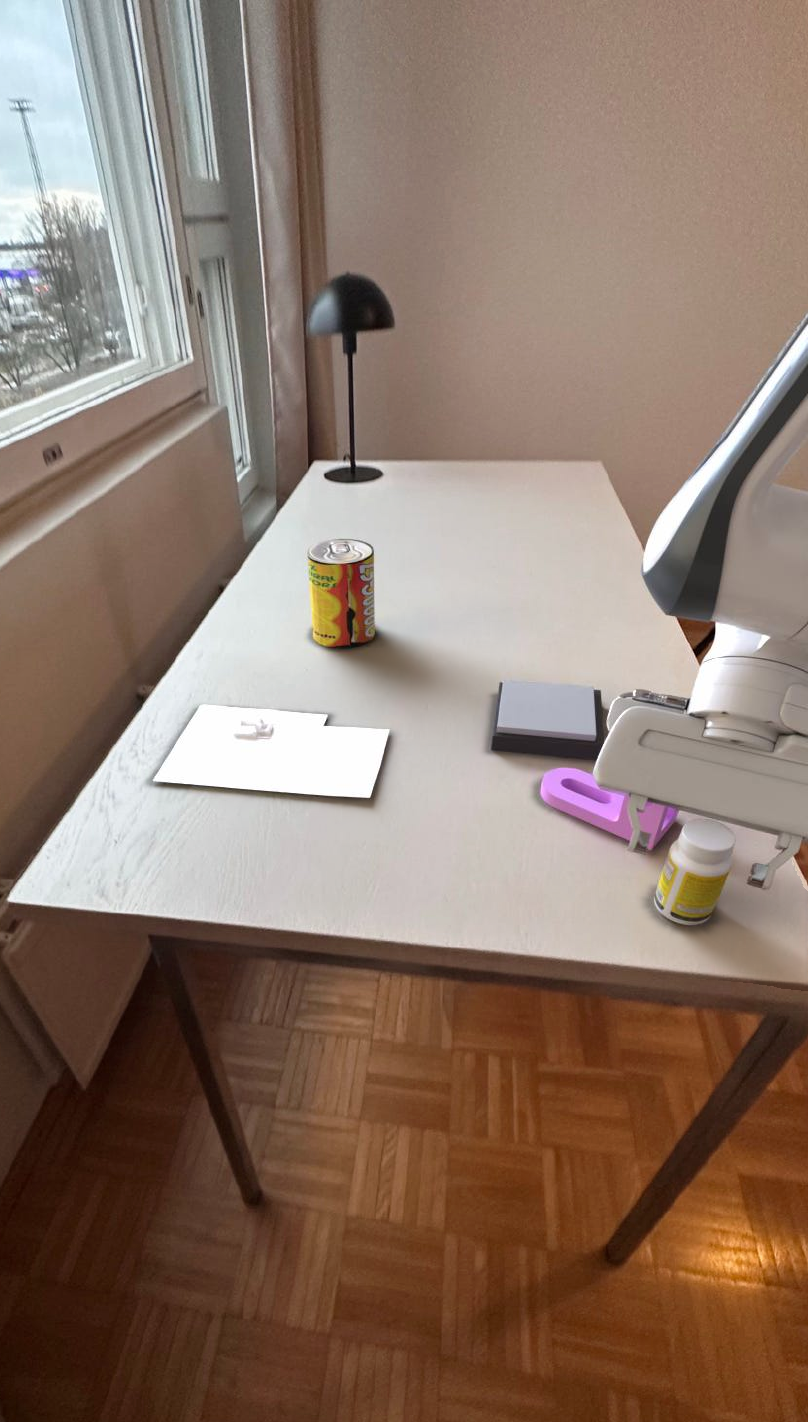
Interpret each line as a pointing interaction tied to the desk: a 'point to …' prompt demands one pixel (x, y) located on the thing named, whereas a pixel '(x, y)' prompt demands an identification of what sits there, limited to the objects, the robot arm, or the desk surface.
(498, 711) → the scale
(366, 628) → the beverage can
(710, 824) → the supplement bottle
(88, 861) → the desk surface
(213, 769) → the paper
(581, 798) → the bracket
